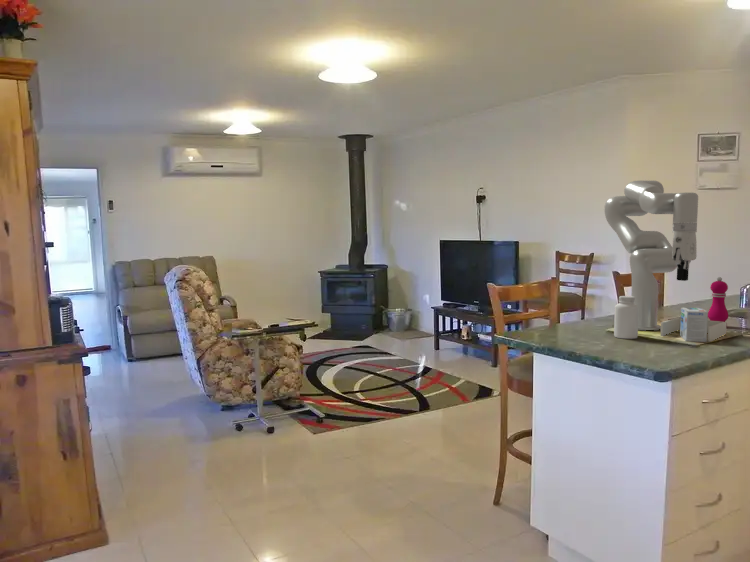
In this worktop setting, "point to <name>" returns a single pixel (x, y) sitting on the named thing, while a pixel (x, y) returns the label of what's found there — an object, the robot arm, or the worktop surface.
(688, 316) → the light bulb box
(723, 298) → the pepper mill
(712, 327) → the cream bay
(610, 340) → the worktop surface
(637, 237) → the robot arm
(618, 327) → the pill bottle
